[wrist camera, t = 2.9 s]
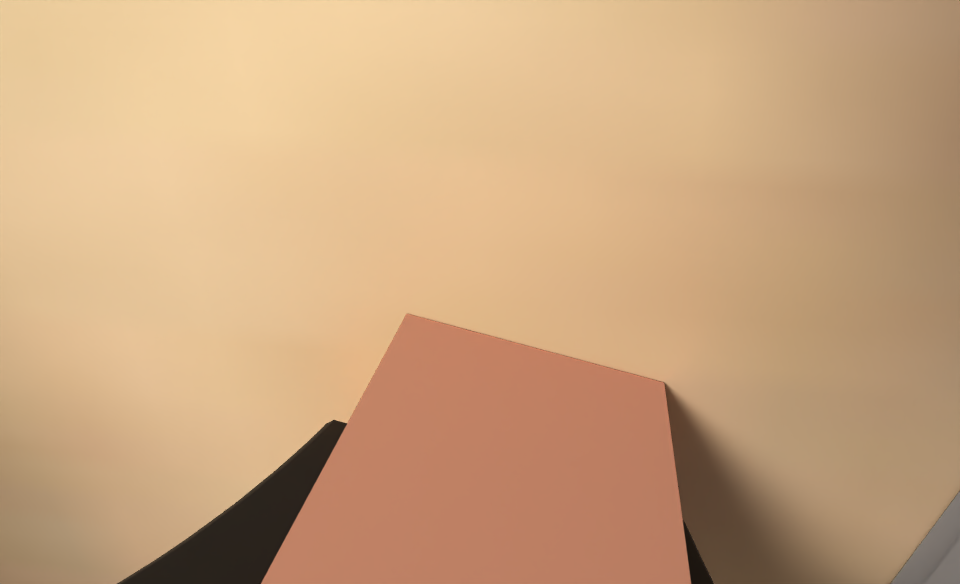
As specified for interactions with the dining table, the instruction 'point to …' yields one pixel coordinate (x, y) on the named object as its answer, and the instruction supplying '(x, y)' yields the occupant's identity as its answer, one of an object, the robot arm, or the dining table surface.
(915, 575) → the grey tray
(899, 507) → the dining table surface
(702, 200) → the dining table surface
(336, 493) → the tan block
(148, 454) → the dining table surface
